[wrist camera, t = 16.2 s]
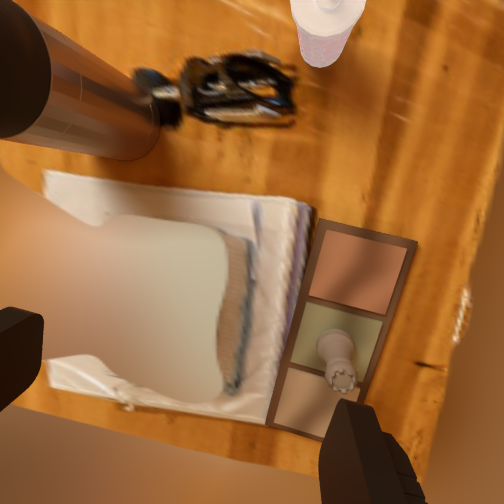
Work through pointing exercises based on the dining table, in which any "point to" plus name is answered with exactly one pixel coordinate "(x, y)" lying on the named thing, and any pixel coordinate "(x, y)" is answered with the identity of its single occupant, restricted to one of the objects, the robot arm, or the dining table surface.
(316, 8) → the beverage cup
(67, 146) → the robot arm
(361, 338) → the tile board
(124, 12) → the dining table surface
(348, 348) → the rook chess piece
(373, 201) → the dining table surface
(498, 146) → the dining table surface
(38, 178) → the dining table surface
